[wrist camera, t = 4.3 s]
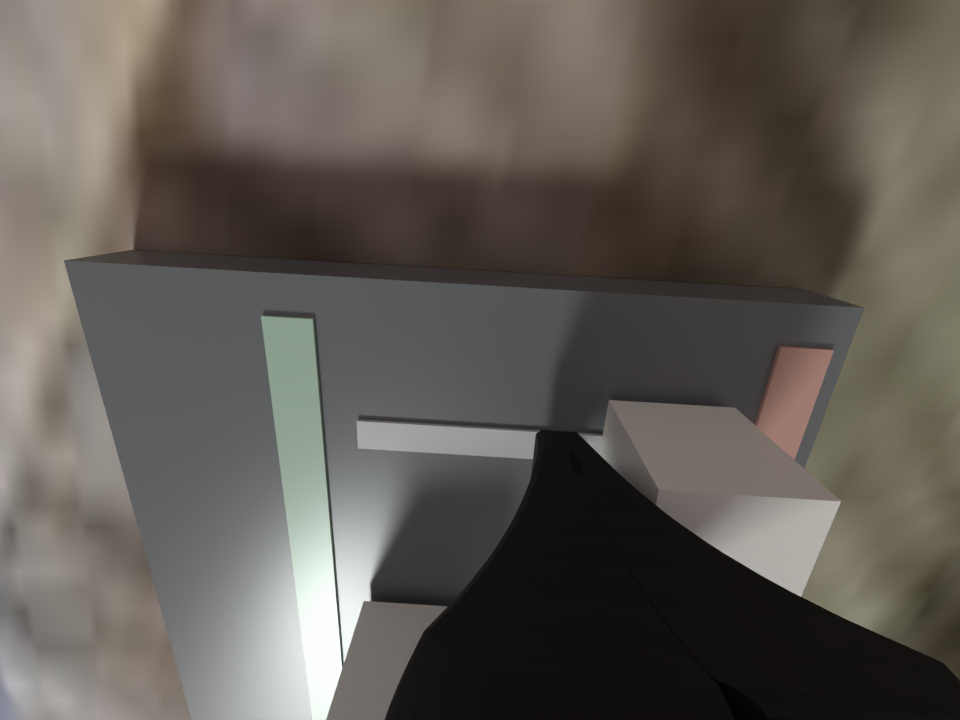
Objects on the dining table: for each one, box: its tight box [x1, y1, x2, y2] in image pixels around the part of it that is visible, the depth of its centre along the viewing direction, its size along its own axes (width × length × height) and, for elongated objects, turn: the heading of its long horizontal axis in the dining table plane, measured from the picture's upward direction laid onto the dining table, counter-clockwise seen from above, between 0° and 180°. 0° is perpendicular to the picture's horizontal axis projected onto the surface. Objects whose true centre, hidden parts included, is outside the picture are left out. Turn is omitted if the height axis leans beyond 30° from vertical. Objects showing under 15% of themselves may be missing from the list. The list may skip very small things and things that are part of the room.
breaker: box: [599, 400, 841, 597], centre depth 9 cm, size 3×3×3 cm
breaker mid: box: [326, 601, 448, 720], centre depth 12 cm, size 3×3×3 cm
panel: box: [64, 250, 864, 720], centre depth 15 cm, size 18×22×2 cm
